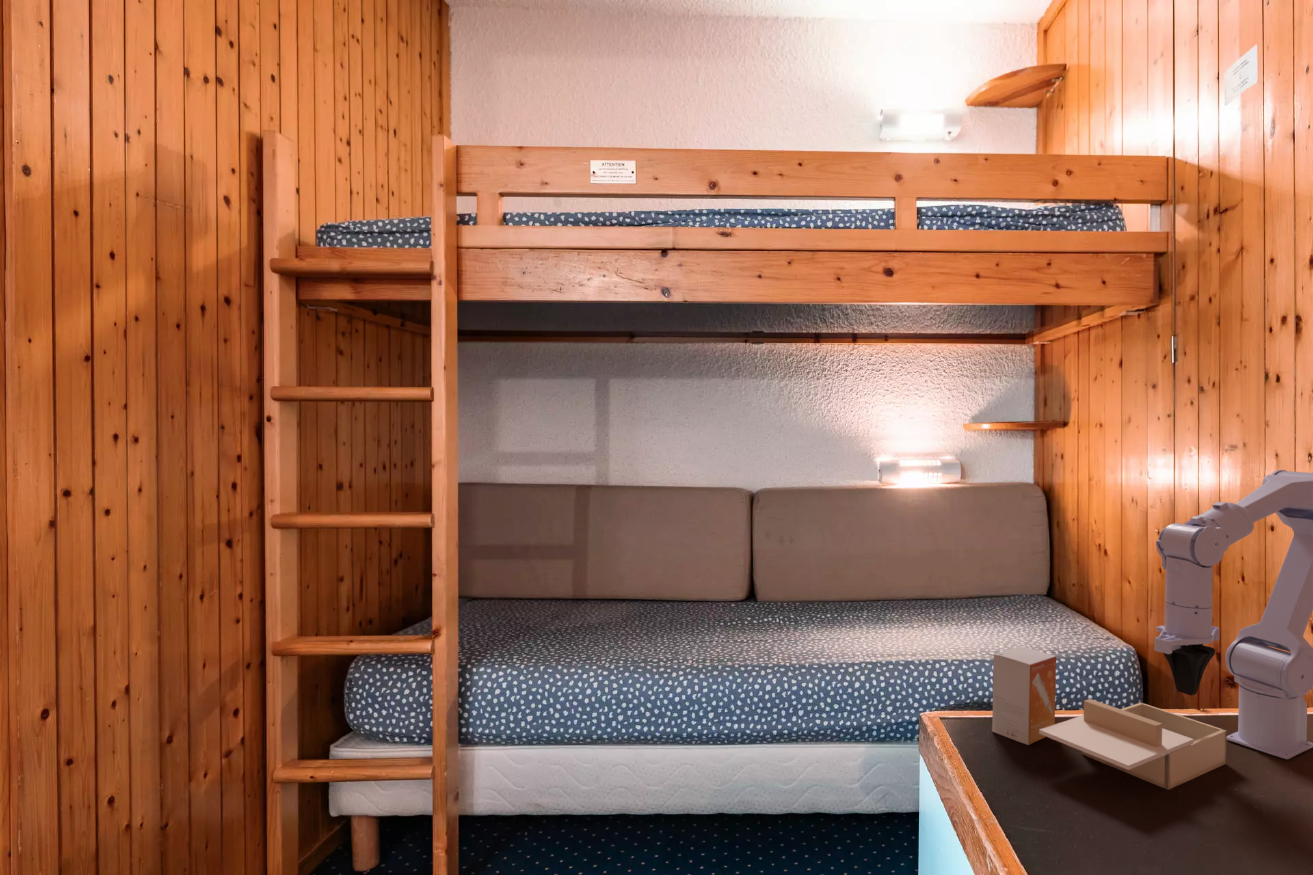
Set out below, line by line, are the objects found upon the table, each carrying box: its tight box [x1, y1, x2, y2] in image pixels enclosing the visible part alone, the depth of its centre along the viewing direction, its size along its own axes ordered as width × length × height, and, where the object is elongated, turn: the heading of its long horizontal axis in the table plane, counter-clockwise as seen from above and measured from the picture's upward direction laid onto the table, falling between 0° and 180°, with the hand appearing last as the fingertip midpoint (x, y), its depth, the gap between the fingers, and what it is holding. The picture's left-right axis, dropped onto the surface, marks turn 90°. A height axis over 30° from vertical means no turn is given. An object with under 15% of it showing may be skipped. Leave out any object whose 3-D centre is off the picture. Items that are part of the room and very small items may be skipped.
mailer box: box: [1081, 702, 1228, 791], centre depth 108 cm, size 16×12×5 cm
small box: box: [991, 645, 1057, 746], centre depth 117 cm, size 8×6×13 cm
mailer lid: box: [1039, 698, 1194, 770], centre depth 103 cm, size 16×12×4 cm
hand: (1186, 692), depth 109 cm, fingers closed
